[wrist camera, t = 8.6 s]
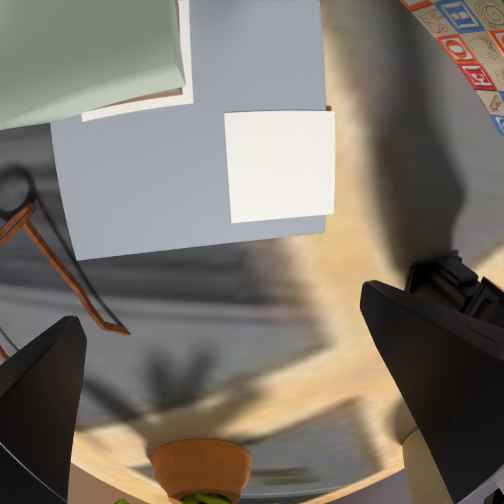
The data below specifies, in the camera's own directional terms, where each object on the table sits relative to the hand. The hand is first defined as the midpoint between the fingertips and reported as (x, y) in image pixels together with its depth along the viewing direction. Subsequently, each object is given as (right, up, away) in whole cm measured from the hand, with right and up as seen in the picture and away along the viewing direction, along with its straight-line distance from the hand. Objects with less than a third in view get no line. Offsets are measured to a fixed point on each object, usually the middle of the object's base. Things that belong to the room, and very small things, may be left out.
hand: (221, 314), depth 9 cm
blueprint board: (-3, +11, +8) cm, 14 cm away
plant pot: (+31, -30, +34) cm, 55 cm away
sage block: (-5, +11, +1) cm, 12 cm away
